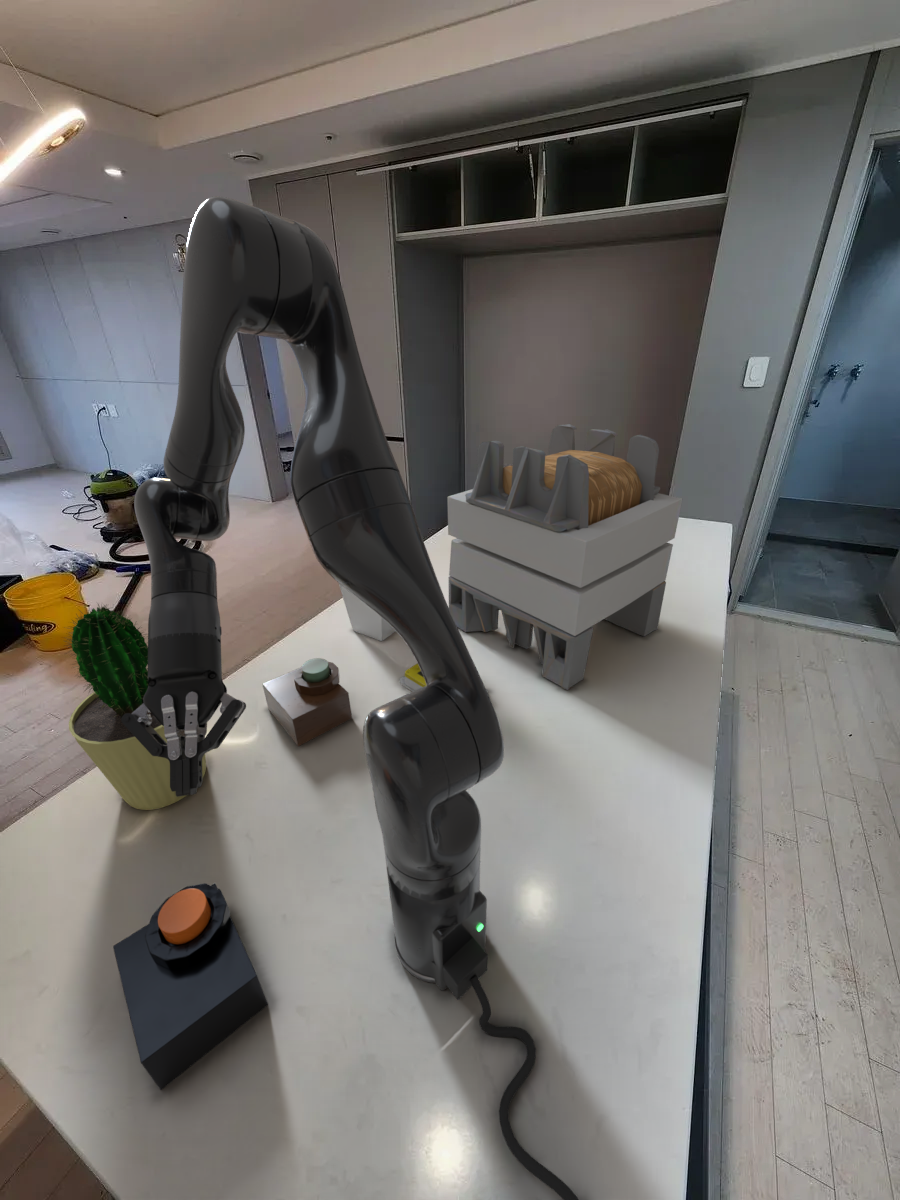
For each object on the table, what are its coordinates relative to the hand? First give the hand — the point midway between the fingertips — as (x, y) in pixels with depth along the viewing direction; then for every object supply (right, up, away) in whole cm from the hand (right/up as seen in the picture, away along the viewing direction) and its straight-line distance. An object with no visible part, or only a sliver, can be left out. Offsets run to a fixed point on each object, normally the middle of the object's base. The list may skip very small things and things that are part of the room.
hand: (186, 794), depth 55 cm
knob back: (+6, +8, +32) cm, 34 cm away
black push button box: (+2, -19, -2) cm, 19 cm away
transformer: (+51, +15, +58) cm, 79 cm away
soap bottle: (+12, +15, +59) cm, 62 cm away
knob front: (+2, -12, -3) cm, 12 cm away
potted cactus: (-14, -6, +22) cm, 27 cm away
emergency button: (+27, +4, +40) cm, 48 cm away
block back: (+4, +1, +34) cm, 34 cm away
